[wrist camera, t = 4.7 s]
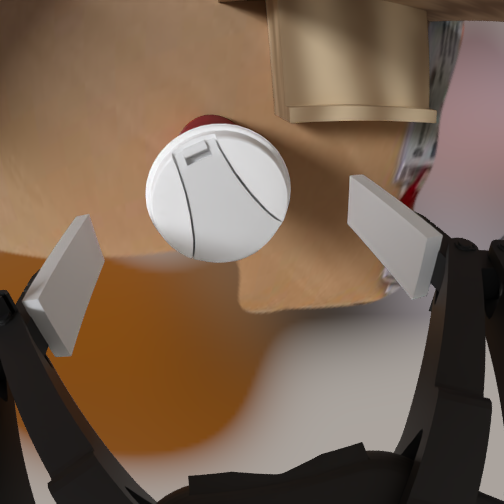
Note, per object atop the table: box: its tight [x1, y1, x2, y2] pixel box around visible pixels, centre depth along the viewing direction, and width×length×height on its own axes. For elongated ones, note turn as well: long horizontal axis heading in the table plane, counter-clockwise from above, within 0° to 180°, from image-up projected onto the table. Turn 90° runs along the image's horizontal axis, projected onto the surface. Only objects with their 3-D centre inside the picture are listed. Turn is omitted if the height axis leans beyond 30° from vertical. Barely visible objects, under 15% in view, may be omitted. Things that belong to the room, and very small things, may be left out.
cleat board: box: [218, 0, 504, 123], centre depth 15 cm, size 22×13×20 cm, turn 94°
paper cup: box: [146, 115, 291, 262], centre depth 21 cm, size 8×8×14 cm
